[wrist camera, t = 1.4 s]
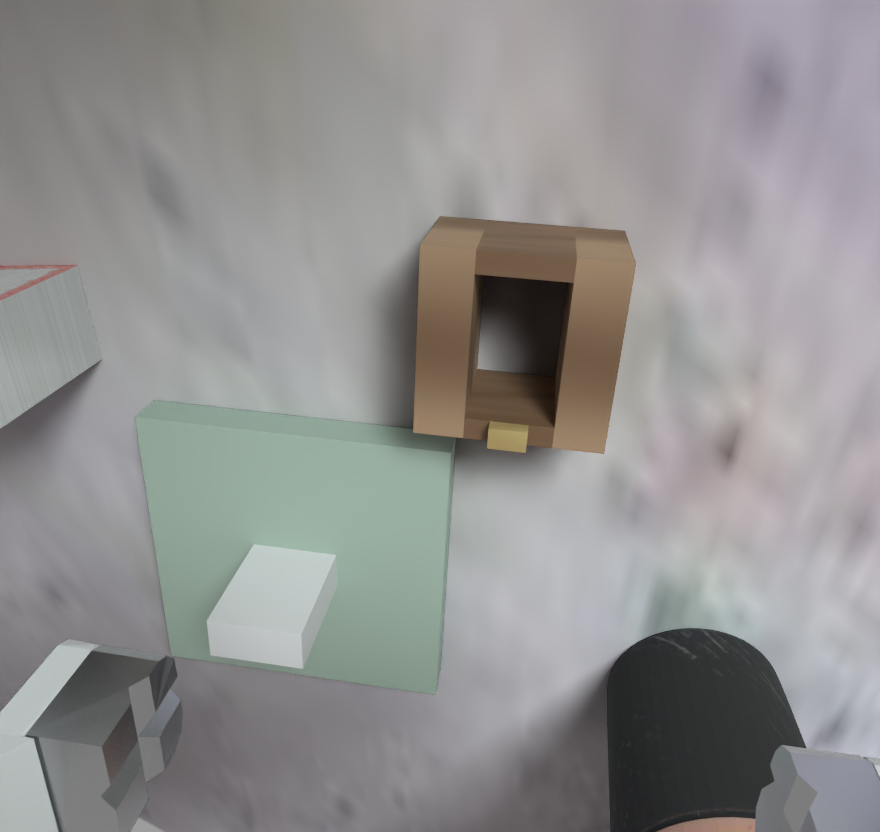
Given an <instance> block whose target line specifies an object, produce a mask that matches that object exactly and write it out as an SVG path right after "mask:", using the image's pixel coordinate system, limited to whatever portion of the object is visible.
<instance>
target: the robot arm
mask: <svg viewBox="0 0 880 832" xmlns="http://www.w3.org/2000/svg"><path fill="white" fill-rule="evenodd" d="M176 678H177V671H176V666H175V661H174V658H172V657H169V656H166V655H161V654H155V653H149V652H143V651H138V650H132V649H126V648H121V647H115V646H109V645H103V644H102V645H100V644H95V643H89V642H83V641H77V640H71V639H68V640H67V641H65V642H63V643H61V644H59V645H58V646H56V647H55V649H54V650H53V651H52V652H51V653H50V654H49V656H48V657H47V658H46V659H45V660H44V661H43V663H42V664H41V665H40V666H39V667H38V668H37V670H36V671H35V672H34V673H33V674H32V675H31V677H30V678H29V679H28V680H27V681H26V682H25V684H24V685H23V686H22V687H21V688H20V689H19V691H18V692H17V693H16V694H15V695H14V696H13V698H12V699H11V700H10V701H9V702H8V703H7V705H6V706H5V707H4V708H3V709H2V710H1V711H0V832H130V831H131V830H132V828H133V826H134V824H135V823H136V821H137V819H138V817H139V815H140V814H141V812H142V810H143V808H144V806H145V805H146V803H147V801H148V793H147V787H146V782H147V781H149V780H150V779H152V778H153V777H155V776H156V775H158V774H159V773H161V772H162V771H164V770H165V768H166V766H167V765H168V763H169V761H170V759H171V757H172V755H173V753H174V751H175V748H176V745H177V742H178V738H179V735H180V732H181V726H182V705H181V699H180V698H179V697H178V696H177V695H176V694H175V693H174V692H173V691H172V689H171V686H172V684H173V683H174V681H175V679H176ZM770 767H771V770H772V774H773V777H774V782H772V783H771V784H769V785H767V786H766V787H764V788H762V789H761V793H760V796H759V799H758V803H757V806H756V819H755V832H880V759H878V758H871V757H861V756H859V755H851V754H844V753H836V752H829V751H822V750H814V749H807V748H800V747H792V746H785V745H781V746H780V747H779V748H778V749H777V750H776V751H775V753H774V756H773V758H772V761H771V764H770Z"/></svg>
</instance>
